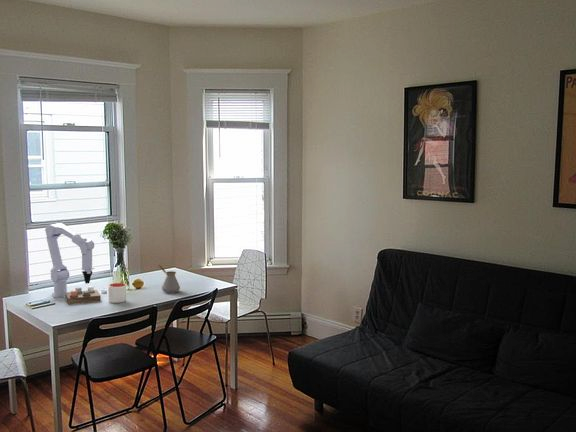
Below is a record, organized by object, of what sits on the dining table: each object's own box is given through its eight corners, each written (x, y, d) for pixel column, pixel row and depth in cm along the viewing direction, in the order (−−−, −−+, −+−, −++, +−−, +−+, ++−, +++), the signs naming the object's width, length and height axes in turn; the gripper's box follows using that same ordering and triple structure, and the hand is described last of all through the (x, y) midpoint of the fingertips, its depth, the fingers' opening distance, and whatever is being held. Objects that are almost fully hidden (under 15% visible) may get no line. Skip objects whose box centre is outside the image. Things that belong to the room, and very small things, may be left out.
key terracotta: (70, 296, 326) (70, 290, 326) (76, 296, 328) (76, 290, 327) (71, 298, 323) (71, 292, 323) (77, 297, 325) (77, 291, 324)
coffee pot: (183, 292, 355) (183, 269, 353) (167, 295, 347) (167, 271, 345) (166, 285, 371) (166, 263, 369) (150, 288, 363) (151, 265, 361)
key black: (83, 297, 329) (82, 291, 329) (89, 297, 331) (88, 291, 331) (83, 299, 327) (83, 293, 326) (89, 298, 328) (89, 292, 328)
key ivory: (87, 292, 337) (87, 286, 337) (93, 291, 339) (93, 285, 338) (88, 293, 334) (88, 287, 334) (94, 293, 336) (94, 287, 335)
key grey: (75, 293, 334) (75, 287, 333) (81, 292, 335) (81, 286, 335) (75, 294, 331) (75, 288, 330) (81, 294, 332) (81, 288, 332)
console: (65, 298, 333) (65, 292, 333) (96, 295, 342) (96, 289, 341) (68, 304, 321) (68, 298, 321) (100, 301, 329) (100, 295, 329)
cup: (107, 303, 325) (107, 287, 324) (109, 299, 335) (109, 283, 333) (125, 303, 327) (125, 286, 326) (126, 298, 337) (126, 282, 335)
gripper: (96, 262, 323) (96, 285, 325) (92, 257, 336) (92, 279, 338) (83, 263, 320) (83, 286, 322) (80, 258, 333) (80, 280, 335)
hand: (87, 283), depth 330 cm, fingers closed
